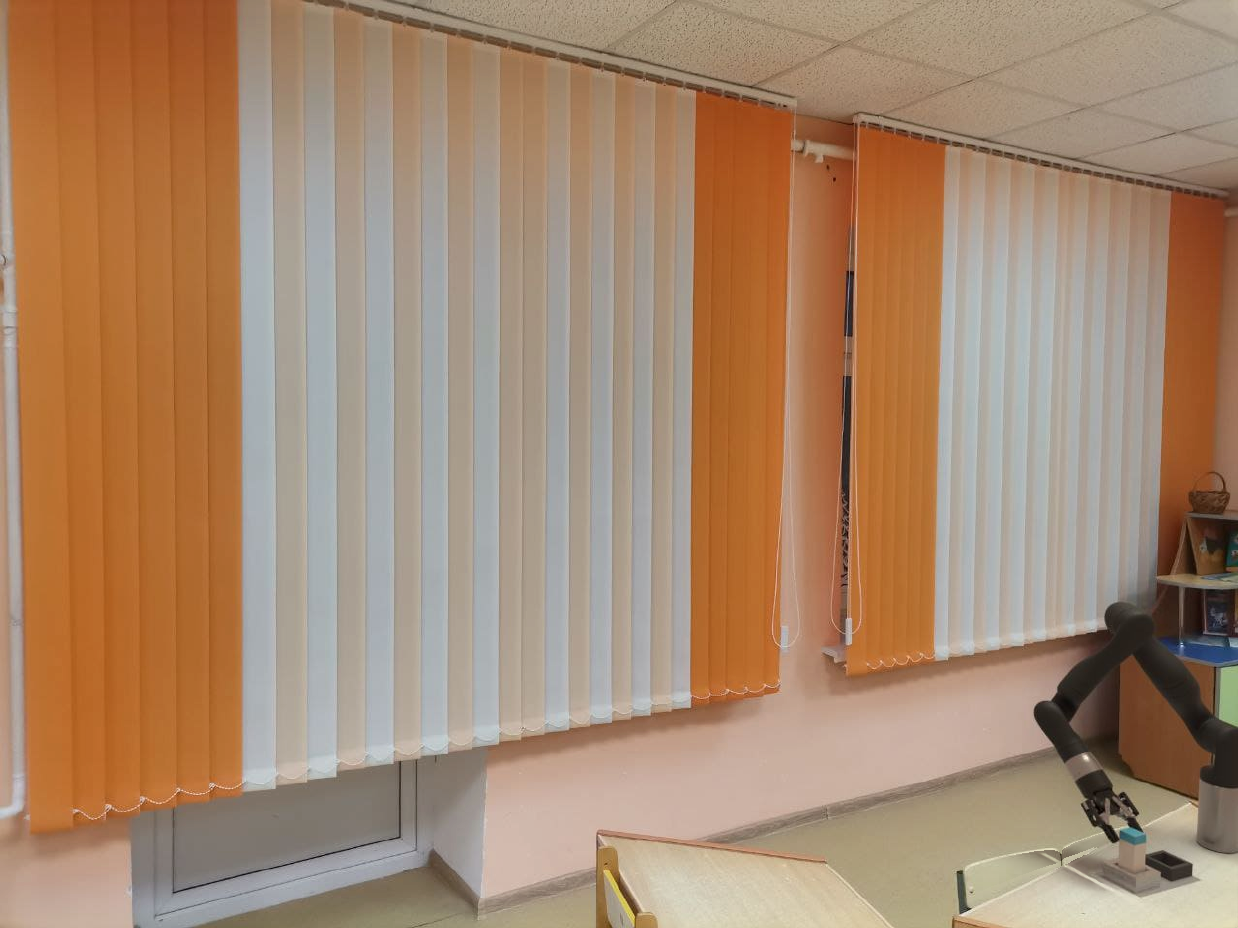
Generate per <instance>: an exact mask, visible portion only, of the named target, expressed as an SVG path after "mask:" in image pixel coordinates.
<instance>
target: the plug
mask: <svg viewBox="0 0 1238 928" xmlns="http://www.w3.org/2000/svg"><path fill="white" fill-rule="evenodd" d="M1118 834H1119V835H1118V837H1119V839H1120V841H1118V857H1117V858H1118V867H1120V868H1122V869H1124V870H1126V871H1128V872H1130V873H1132V874H1134V875H1135V874H1139V873H1142V872H1145V855H1146V854H1147V852H1146V851H1147V833H1144V832H1143V833H1142V832H1140V831H1138V830H1136V829H1133V828H1131V827H1126V828H1123V829H1119V833H1118Z"/></svg>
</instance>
